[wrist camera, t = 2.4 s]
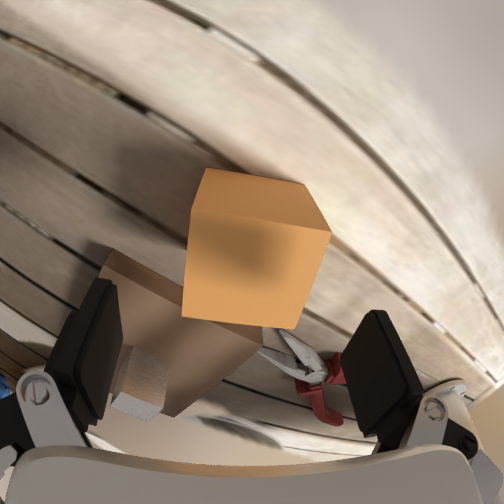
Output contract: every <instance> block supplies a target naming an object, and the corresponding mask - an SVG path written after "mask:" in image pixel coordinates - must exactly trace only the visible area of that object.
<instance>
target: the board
mask: <svg viewBox="0 0 504 504" xmlns="http://www.w3.org/2000/svg"><path fill="white" fill-rule="evenodd" d="M98 278H104V279H110V280H112V283H113V284H115V285H116V286H117V292H118V301H119V309H120V317H121V324H122V331H123V343H122V346H121V350H120V353H119V357H118V360H117V364H116V368H115V371H114V375H113V379H112V383H111V387H110V391H109V392H110V393H112V394H113V396H112V400H111V404H110V407H112V408H115V409H117V410H120V411H122V412H124V413H127V414H130V415H132V416H134V417H137V418H140V419H143V420H145V421H149V420H150V419H151V418H152V417H154V416H155V415H156V414H157V413H158V412H160V413H162V414H165V415H168V416H171V417H175V416H177V415H178V414H179V413H181V412H182V411H183V410H184V409H186V408H187V407H188V406H190V405H191V404H192V403H194V402H195V401H196V400H198V399H199V398H200V397H201V396H203V395H204V394H205V393H207V392H208V391H209V390H210V389H212V388H213V387H214V386H215V385H217V384H218V383H219V382H220V381H222V380H223V379H224V378H225V377H226V376H228V375H229V374H230V373H231V372H233V371H234V370H235V369H236V368H237V367H239V366H240V365H241V364H242V363H243V362H245V361H246V360H247V359H248V358H249V357H250V356H252V355H253V354H254V353H255V352H256V351H257V350H259V349H260V348H261V347H262V346H263V338H262V327H260V326H253V325H244V324H235V323H227V322H219V321H212V320H204V319H197V318H190V317H183V316H182V303H183V289H184V288H183V287H181V286H179V285H177V284H175V283H174V282H172V281H170V280H168V279H166V278H164V277H163V276H161V275H159V274H157V273H155V272H153V271H152V270H150V269H148V268H146V267H144V266H143V265H141V264H139V263H137V262H136V261H134V260H132V259H130V258H129V257H127V256H125V255H123V254H122V253H120V252H118V251H117V250H115V249H113V250H112V251H111V253H110V255H109V256H108V258H107V260H106V261H105V263H104V265H103V267H102V269H101V271H100V274H99V276H98Z"/></svg>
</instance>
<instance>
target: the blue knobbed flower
mask: <svg viewBox="0 0 504 504" xmlns="http://www.w3.org/2000/svg"><path fill="white" fill-rule="evenodd" d="M8 395H10V391H9V388H8V385H7V381H6V379H5V378H4V377H3V376H0V399H2V398H4V397H6V396H8Z"/></svg>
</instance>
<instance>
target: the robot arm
mask: <svg viewBox="0 0 504 504" xmlns="http://www.w3.org/2000/svg"><path fill="white" fill-rule="evenodd" d="M122 343H123V331H122V324H121V317H120V309H119V301H118V292H117V286H116V285H115V284H113V283H112V280H110V279H104V278H98V277H96V278H95V279H94V281H93V283H92V285H91V287H90V289H89V291H88V293H87V295H86V297H85V299H84V301H83V303H82V305H81V307H80V309H79V311H77V310H73V311H71V313H70V314H69V316H68V318H67V320H66V322H65V324H64V326H63V328H62V330H61V333H60V335H59V337H58V339H57V341H56V343H55V346H54V348H53V350H52V353H51V355H50V357H49V359H48V362H47V364H46V367H45V369H44V372H43V371H39V370H34V371H29V372H28V373H26V374H24V375H23V376H22V377H21V378H20V379H19V381H18V383H17V387H16V392H15V393H13V394H11V395H8V396H6V397H4V398H2V399H0V479H1V478H2V477H3V476H4V475H5V474H4V471H5V470H6V469H7V468H8V467H9V466H15V467H14V470H13V472H12V475H11V478H10V482H9V485H8V489H7V493H6V499H5V503H4V501H3V500H2V499H1V497H0V504H504V503H503V500H502V498H501V496H500V493H499V490H500V488H501V486H502V483H503V476H502V473H501V471H500V470H499V469H498V468H497V466H496V465H495V464H494V463H493V462H492V461H491V460H490V459H489V457H488V456H486V454H485V451H484V449H483V446H482V444H481V441H480V439H479V436H478V434H477V431H476V429H475V427H474V424H473V422H472V420H471V417H470V415H469V413H468V410H467V408H466V406H465V404H464V402H463V399H462V397H463V396H464V395H465V393H466V391H467V385H466V383H465V381H463V380H452V381H448V382H446V383H443V384H440V385H438V386H436V387H434V388H432V389H430V390H428V391H427V392H425V391H424V389H423V387H422V385H421V382H420V380H419V378H418V376H417V373H416V371H415V369H414V367H413V365H412V362H411V360H410V358H409V356H408V354H407V352H406V350H405V348H404V346H403V344H402V342H401V340H400V338H399V335H398V333H397V331H396V329H395V327H394V326H393V324H392V322H391V320H390V318H389V316H388V314H387V312H386V311H384V310H371V311H369V313H367V314H366V315H365V316H364V318H363V320H362V321H361V323H360V325H359V326H358V328H357V330H356V332H355V333H354V335H353V336H352V338H351V340H350V341H349V343H348V345H347V346H346V348H345V349H344V351H343V353H342V354H341V357H340V364H341V368H342V371H343V374H344V378H345V381H346V384H347V388H348V391H349V395H350V398H351V401H352V405H353V408H354V412H355V416H356V419H357V423H358V426H359V429H360V431H361V432H363V435H364V438H368V437H374V436H376V435H377V437H378V441H377V443H376V445H375V448H374V450H373V452H372V454H371V455H367V456H361V457H355V458H349V459H342V460H335V461H327V462H318V463H308V464H296V465H279V466H222V465H205V464H192V463H181V462H173V461H165V460H158V459H151V458H144V457H138V456H133V455H127V454H122V453H117V452H111V451H106V450H100V449H95V448H93V446H92V445H91V443H90V441H89V439H88V437H87V436H86V434H85V432H87V430H88V425H89V424H90V425H94V426H96V425H97V421H98V419H99V420H101V419H102V418H103V416H104V411H105V406H106V403H107V399H108V394H109V391H110V387H111V383H112V379H113V375H114V371H115V368H116V364H117V360H118V357H119V353H120V350H121V346H122ZM424 392H425V393H424Z"/></svg>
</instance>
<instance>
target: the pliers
mask: <svg viewBox="0 0 504 504" xmlns="http://www.w3.org/2000/svg"><path fill="white" fill-rule="evenodd" d="M278 329H279V332H280V334H281V335H282V336H283V338H284V339H285V340H286V342H287V343H288V344H289V346H290V347H291V348H292V350H293V351H294V352H295V354H296V355H297V356H298V358H299V359H300V360H301V361H302V362H303V363H296V359H295V357H293V356H290V355H288V354H285V353H281V352H277V351H274V350H270V349H266V348H262V347H261V348H260V349H259V350H257V352H258V353H259V354H261V355H262V356H263V357H265V358H266V359H267V360H269V361H270V362H272V363H273V364H274V365H276V366H277V367H279V368H280V369H281V370H283V371H284V372H286V373H287V374H289V375H291V376H293V377H295V383H296V390H297V393H298V394H299V395H300V396H307V395H309V396H310V400H311V405H312V409H313V412H314V414H315V416H316V417H317V418H318V419H319V420H320V421H321V422H324V423H327V424H330V425H333V426H341V425H343V423H344V421H343V417H342V414H341V413H338V412H336V411H333V410H331V409H329V408H327V407H326V406H325V405H324V401H323V394H322V388H321V382H320V381H322V380H324V381H325V383H330V384H332V385H336V384H346V381H345V378H344V374H343V371H342V368H341V364H340V357H341V354H342V353H337V354H336V355H335V356H334V358H333V359H332V360H326V361H325V363H324V361H323V360H322V359H321V358H320V357H319V355H318V354H317V353H316V352H315V351H314V350H313V349H312V348H311V347H309V346H308V345H306V344H304V343H303V342H301V341H300V340H298V339H296V338H295V337H293V336H292V335H290V334H288V333H287V332H285V331H284V330H282V329H280V328H278ZM319 382H320V383H319Z"/></svg>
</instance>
